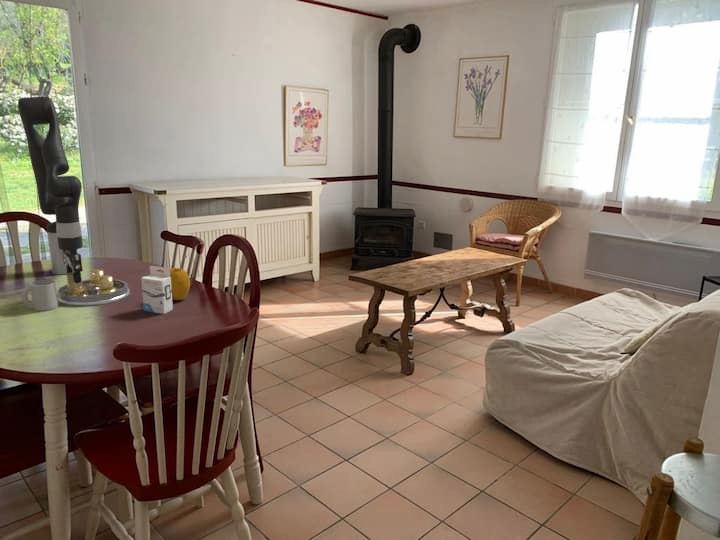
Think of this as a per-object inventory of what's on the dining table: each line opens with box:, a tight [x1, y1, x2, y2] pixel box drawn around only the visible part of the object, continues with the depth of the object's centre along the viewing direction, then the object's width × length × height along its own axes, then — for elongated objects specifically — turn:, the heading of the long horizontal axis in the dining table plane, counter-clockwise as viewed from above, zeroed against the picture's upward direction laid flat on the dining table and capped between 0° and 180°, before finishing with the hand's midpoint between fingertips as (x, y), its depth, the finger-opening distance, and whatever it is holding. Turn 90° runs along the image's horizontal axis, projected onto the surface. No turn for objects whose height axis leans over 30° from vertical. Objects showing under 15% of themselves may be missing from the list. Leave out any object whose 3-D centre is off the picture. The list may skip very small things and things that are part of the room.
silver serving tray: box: [57, 269, 131, 307], centre depth 197 cm, size 24×24×8 cm
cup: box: [21, 279, 59, 312], centre depth 182 cm, size 7×10×9 cm
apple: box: [169, 267, 191, 301], centre depth 196 cm, size 10×10×12 cm
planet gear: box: [64, 272, 87, 296], centre depth 193 cm, size 7×7×8 cm
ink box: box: [140, 265, 174, 315], centre depth 183 cm, size 8×5×15 cm, turn 73°
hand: (74, 280), depth 193 cm, fingers open, 8 cm apart
